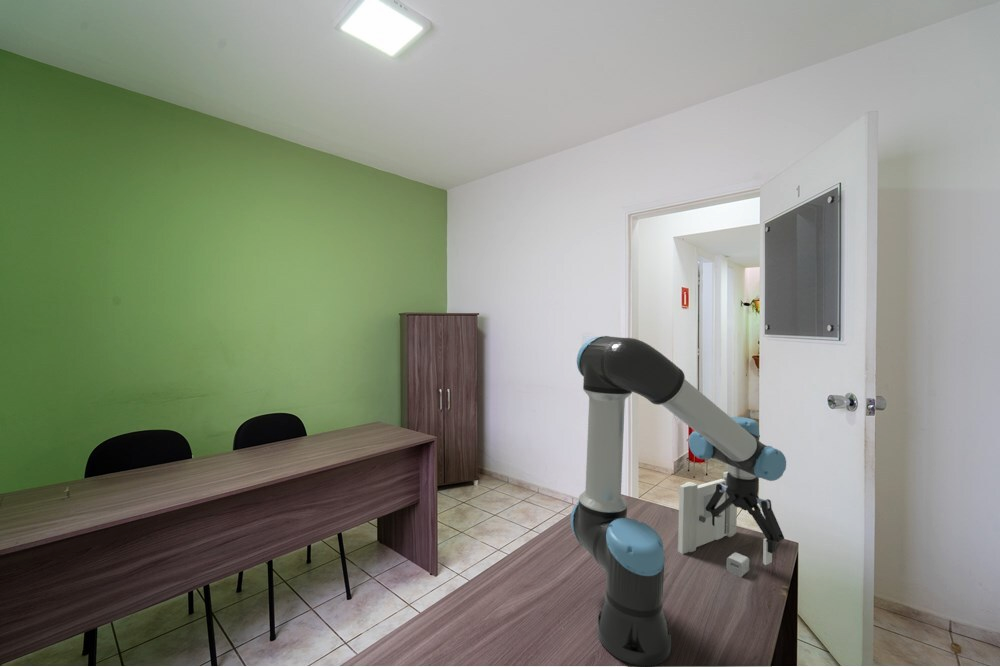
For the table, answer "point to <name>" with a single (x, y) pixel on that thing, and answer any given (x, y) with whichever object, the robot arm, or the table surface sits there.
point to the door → (707, 512)
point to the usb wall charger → (737, 564)
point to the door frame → (690, 517)
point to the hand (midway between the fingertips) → (741, 550)
